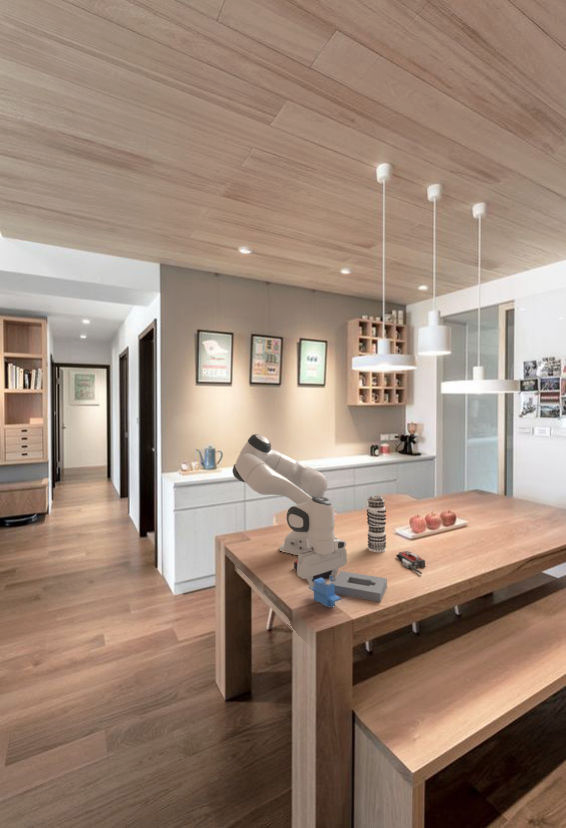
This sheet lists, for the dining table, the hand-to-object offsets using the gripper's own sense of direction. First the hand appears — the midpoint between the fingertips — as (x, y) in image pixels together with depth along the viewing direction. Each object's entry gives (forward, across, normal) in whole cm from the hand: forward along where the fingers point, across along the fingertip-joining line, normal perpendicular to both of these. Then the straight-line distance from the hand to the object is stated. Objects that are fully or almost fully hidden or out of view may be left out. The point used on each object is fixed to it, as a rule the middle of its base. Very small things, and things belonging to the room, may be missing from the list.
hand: (322, 584), depth 136 cm
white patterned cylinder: (+6, +54, +23) cm, 59 cm away
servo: (+6, 0, 0) cm, 6 cm away
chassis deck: (+6, +17, -1) cm, 18 cm away
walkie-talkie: (+7, +52, +1) cm, 52 cm away
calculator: (+7, +13, +21) cm, 26 cm away
